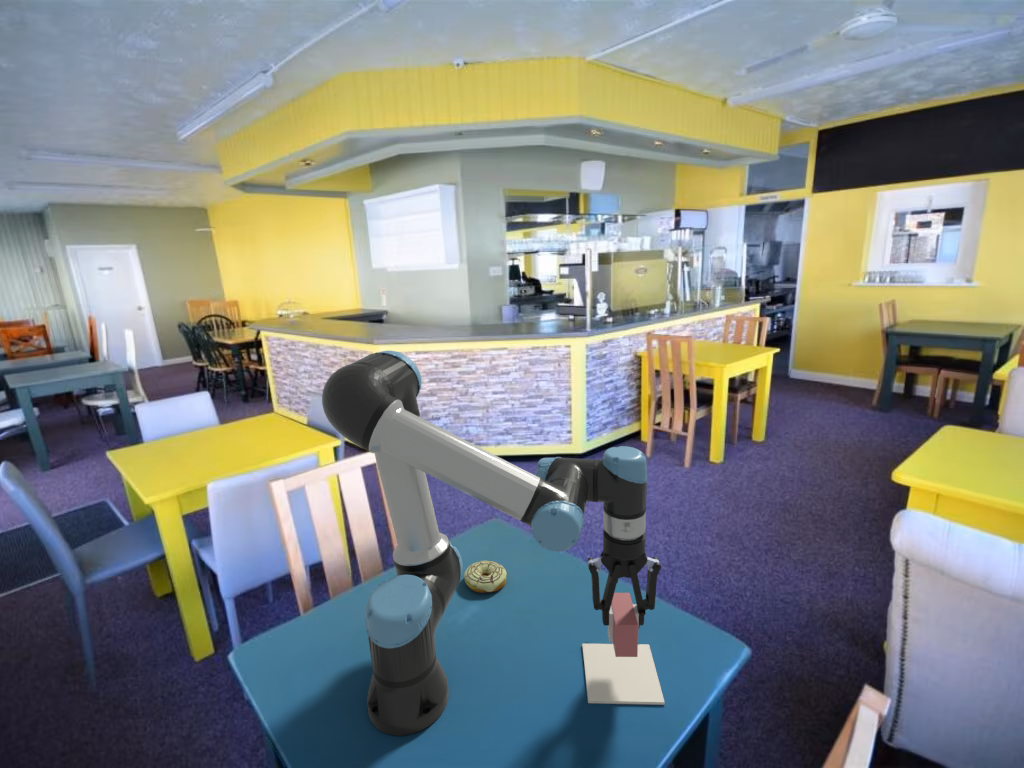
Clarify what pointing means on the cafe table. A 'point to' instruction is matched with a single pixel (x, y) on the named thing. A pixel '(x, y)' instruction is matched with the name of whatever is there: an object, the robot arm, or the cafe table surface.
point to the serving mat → (621, 676)
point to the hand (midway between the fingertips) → (622, 637)
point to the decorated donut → (485, 576)
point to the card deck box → (624, 626)
